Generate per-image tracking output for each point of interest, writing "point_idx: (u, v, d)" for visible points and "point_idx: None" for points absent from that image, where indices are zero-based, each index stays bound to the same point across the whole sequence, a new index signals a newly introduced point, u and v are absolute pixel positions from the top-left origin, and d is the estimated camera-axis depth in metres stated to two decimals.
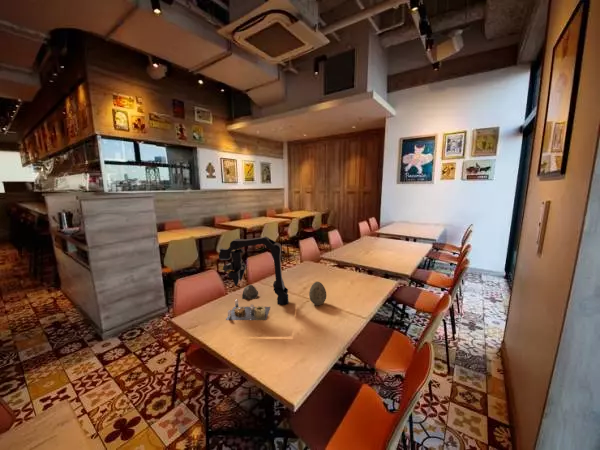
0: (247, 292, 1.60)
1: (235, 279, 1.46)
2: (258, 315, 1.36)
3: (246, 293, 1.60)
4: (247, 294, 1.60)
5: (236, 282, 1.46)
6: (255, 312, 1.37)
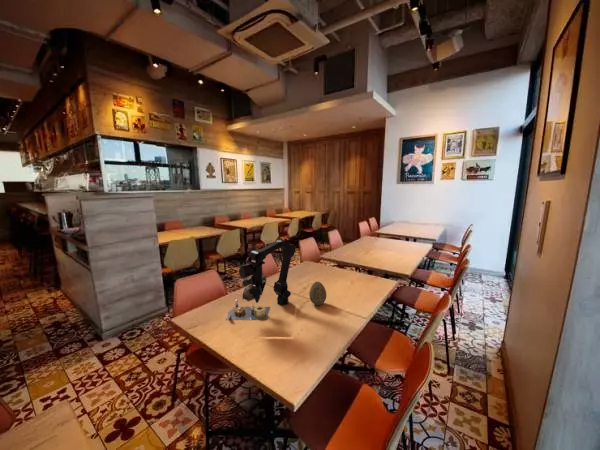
0: (247, 292, 1.60)
1: (256, 295, 1.32)
2: (258, 315, 1.36)
3: (246, 293, 1.60)
4: (247, 294, 1.59)
5: (257, 298, 1.32)
6: (255, 312, 1.37)
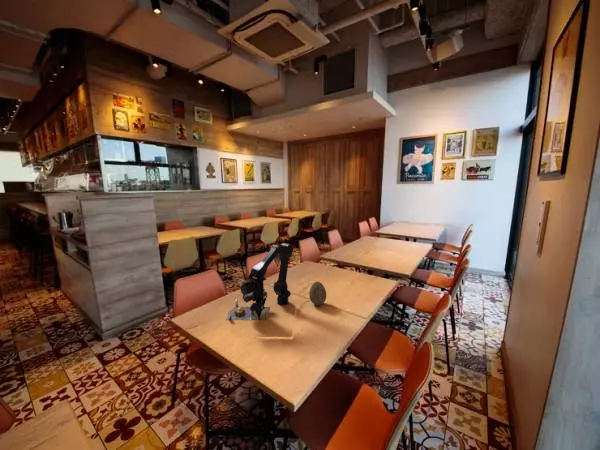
0: None
1: (258, 310, 1.34)
2: None
3: None
4: None
5: (259, 313, 1.35)
6: (255, 312, 1.37)
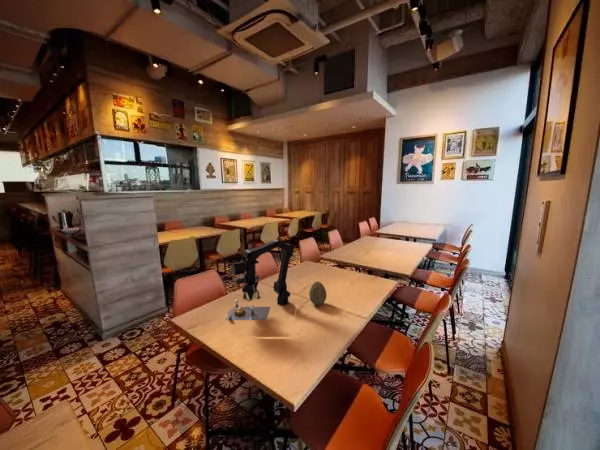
0: None
1: (250, 292, 1.35)
2: None
3: None
4: None
5: (251, 296, 1.35)
6: (247, 295, 1.37)
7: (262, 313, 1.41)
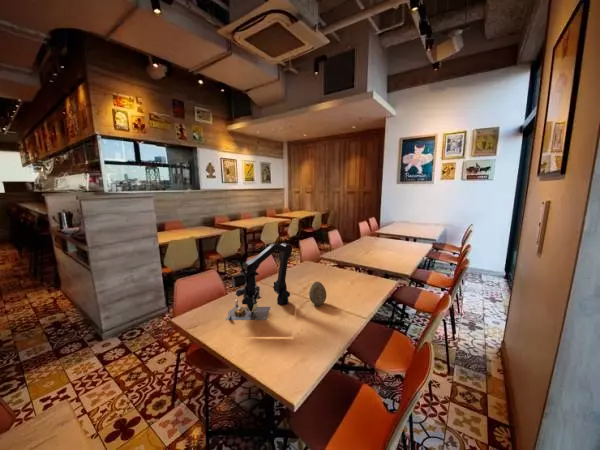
0: None
1: (250, 304, 1.36)
2: None
3: None
4: None
5: (251, 307, 1.37)
6: (247, 306, 1.39)
7: (262, 313, 1.41)
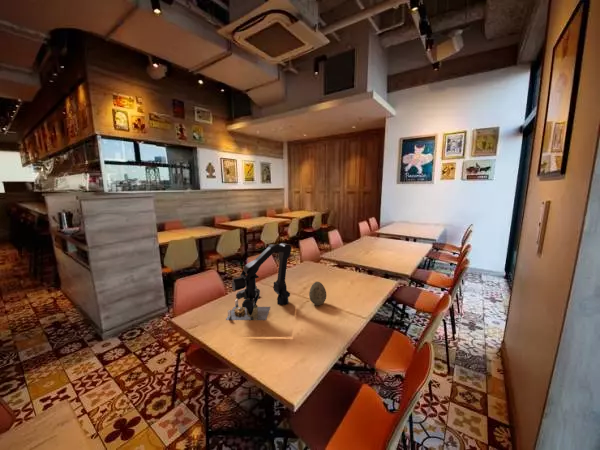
0: None
1: (249, 308, 1.35)
2: None
3: None
4: None
5: (250, 311, 1.36)
6: (247, 310, 1.39)
7: (262, 313, 1.41)
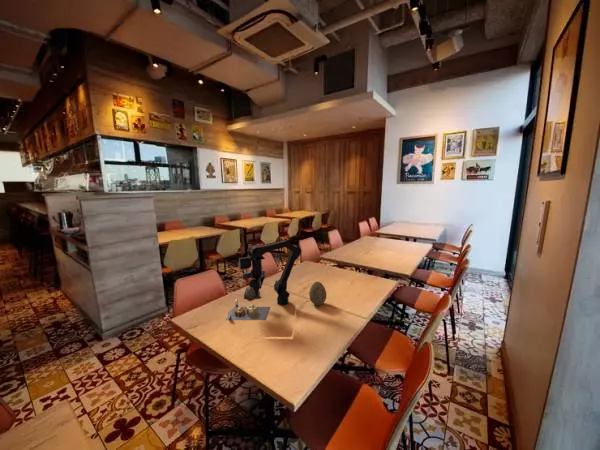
0: (249, 292, 1.60)
1: (256, 288, 1.39)
2: (250, 313, 1.39)
3: (248, 293, 1.59)
4: (249, 294, 1.59)
5: (257, 291, 1.39)
6: (247, 310, 1.39)
7: (262, 313, 1.41)
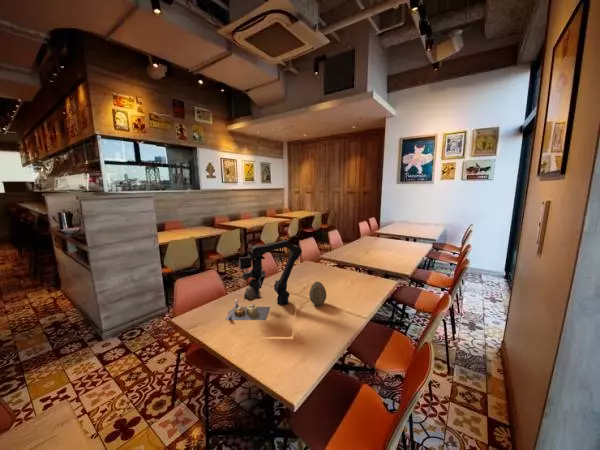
0: (249, 292, 1.60)
1: (256, 288, 1.39)
2: (250, 313, 1.39)
3: (248, 293, 1.59)
4: (249, 294, 1.59)
5: (257, 291, 1.39)
6: (247, 310, 1.39)
7: (262, 313, 1.41)
